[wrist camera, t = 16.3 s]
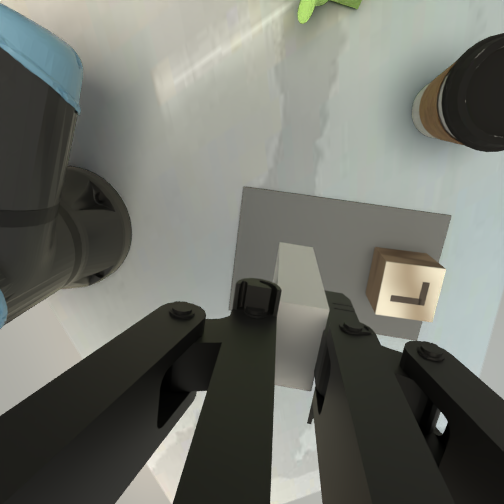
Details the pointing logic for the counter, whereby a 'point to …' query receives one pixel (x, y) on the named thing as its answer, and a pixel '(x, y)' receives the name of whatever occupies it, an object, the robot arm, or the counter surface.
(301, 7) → the teapot
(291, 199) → the rubber mat
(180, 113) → the counter surface
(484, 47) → the coffee cup
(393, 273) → the walnut cube
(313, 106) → the counter surface
